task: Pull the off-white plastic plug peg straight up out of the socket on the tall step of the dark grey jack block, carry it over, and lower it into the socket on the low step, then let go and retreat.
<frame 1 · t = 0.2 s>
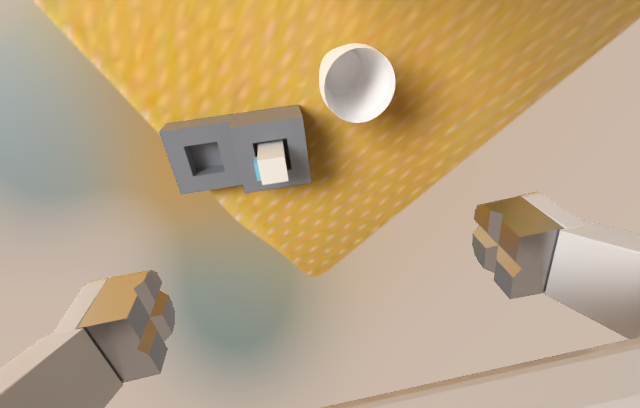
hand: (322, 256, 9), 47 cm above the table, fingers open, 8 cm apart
cup: (341, 70, 53), on the table
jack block: (240, 145, 56), on the table
plug: (272, 147, 54), point 3 cm above the table, touching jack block
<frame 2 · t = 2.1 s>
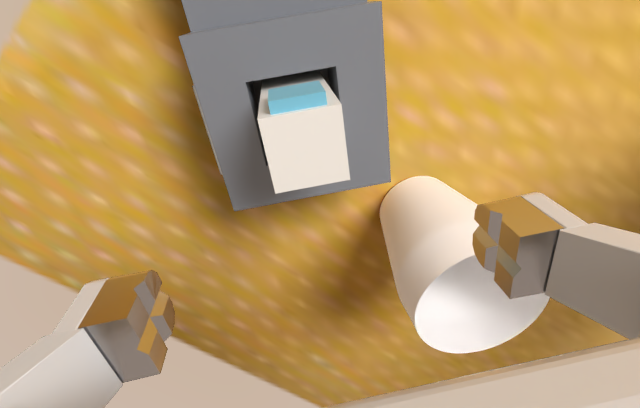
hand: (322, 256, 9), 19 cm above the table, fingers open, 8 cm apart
cup: (414, 207, 32), on the table
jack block: (278, 14, 23), on the table
plug: (294, 101, 23), point 3 cm above the table, touching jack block
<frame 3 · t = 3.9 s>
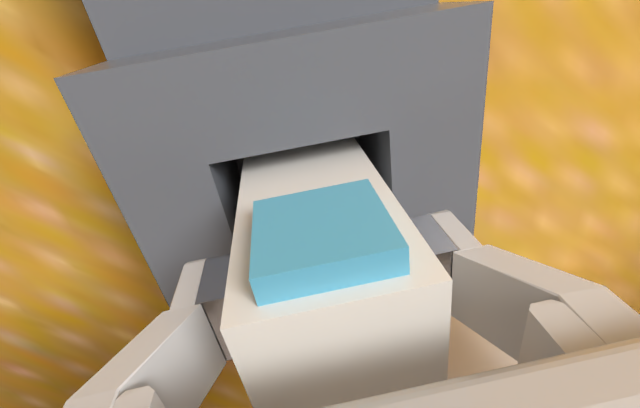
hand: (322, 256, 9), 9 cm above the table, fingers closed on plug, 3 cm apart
cup: (465, 289, 23), on the table
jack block: (273, 25, 14), on the table
plug: (302, 169, 14), point 3 cm above the table, touching gripper, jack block
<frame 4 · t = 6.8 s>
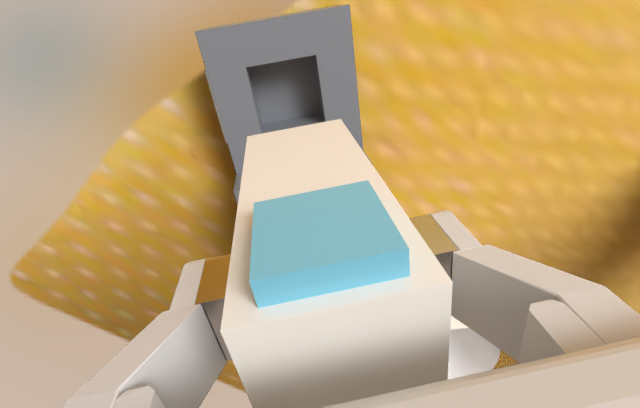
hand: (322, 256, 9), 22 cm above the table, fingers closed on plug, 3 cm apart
cup: (401, 270, 40), on the table
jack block: (296, 144, 31), on the table
plug: (302, 170, 14), point 17 cm above the table, touching gripper
when the fingers open (7 cm above the table, at t = 9.7 s): plug stays where it is, resting on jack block.
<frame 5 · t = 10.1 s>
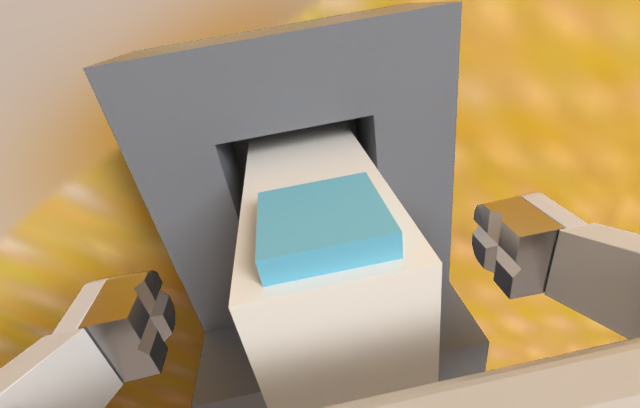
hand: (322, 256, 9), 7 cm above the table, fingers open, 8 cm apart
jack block: (316, 247, 18), on the table
plug: (303, 165, 14), point 1 cm above the table, touching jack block
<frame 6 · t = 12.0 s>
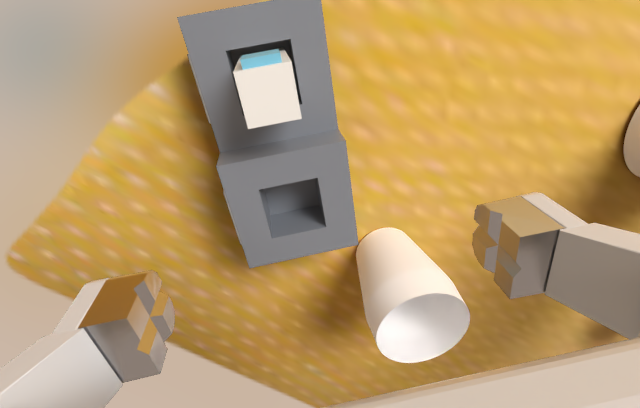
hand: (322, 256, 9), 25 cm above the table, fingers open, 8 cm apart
cup: (382, 249, 42), on the table
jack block: (277, 126, 33), on the table
plug: (266, 73, 30), point 1 cm above the table, touching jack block
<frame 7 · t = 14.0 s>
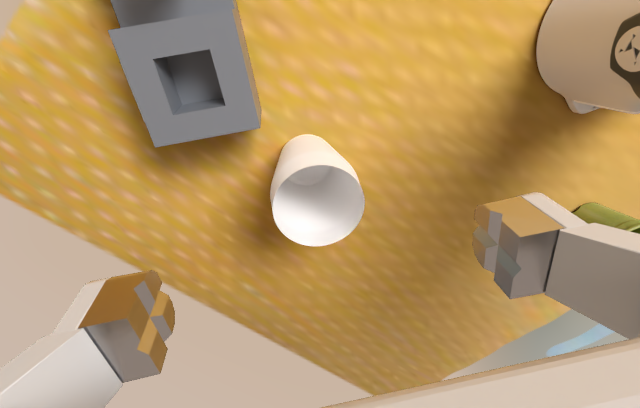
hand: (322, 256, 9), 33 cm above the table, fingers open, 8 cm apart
cup: (306, 159, 43), on the table
plant pot: (582, 218, 54), on the table
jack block: (187, 17, 34), on the table
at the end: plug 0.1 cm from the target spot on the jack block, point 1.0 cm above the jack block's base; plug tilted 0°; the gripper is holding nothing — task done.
